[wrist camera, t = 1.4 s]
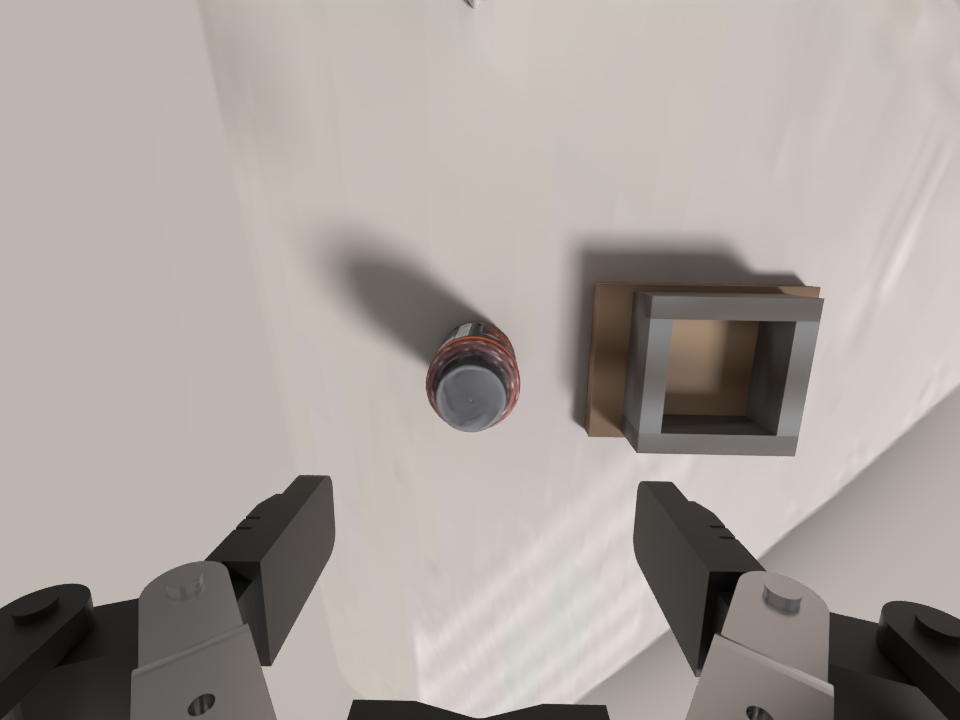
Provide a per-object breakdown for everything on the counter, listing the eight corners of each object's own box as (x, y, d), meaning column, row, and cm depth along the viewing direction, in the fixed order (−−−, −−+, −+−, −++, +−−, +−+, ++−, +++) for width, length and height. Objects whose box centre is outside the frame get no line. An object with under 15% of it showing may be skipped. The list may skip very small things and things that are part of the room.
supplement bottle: (529, 359, 36) (547, 405, 25) (475, 406, 37) (468, 470, 26) (479, 303, 35) (474, 326, 24) (424, 354, 36) (396, 397, 25)
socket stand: (595, 282, 34) (614, 287, 29) (806, 285, 34) (865, 291, 29) (584, 429, 37) (600, 458, 32) (780, 433, 37) (829, 463, 32)
